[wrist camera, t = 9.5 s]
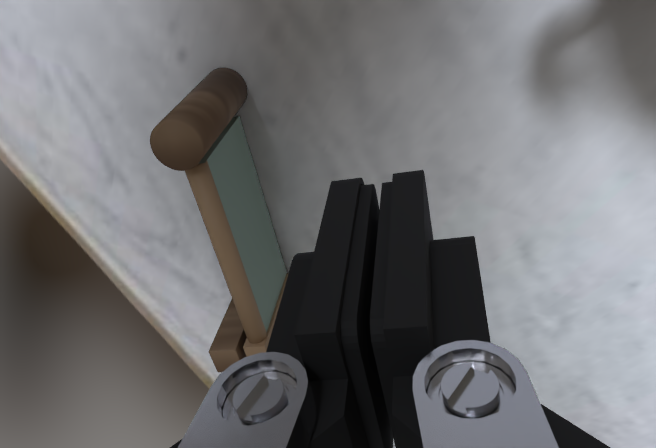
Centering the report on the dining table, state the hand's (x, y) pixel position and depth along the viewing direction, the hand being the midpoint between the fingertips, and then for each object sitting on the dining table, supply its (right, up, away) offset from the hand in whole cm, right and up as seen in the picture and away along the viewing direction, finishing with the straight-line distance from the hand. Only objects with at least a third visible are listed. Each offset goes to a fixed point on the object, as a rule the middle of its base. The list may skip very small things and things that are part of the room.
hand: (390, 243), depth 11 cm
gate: (-6, +1, +33) cm, 33 cm away
